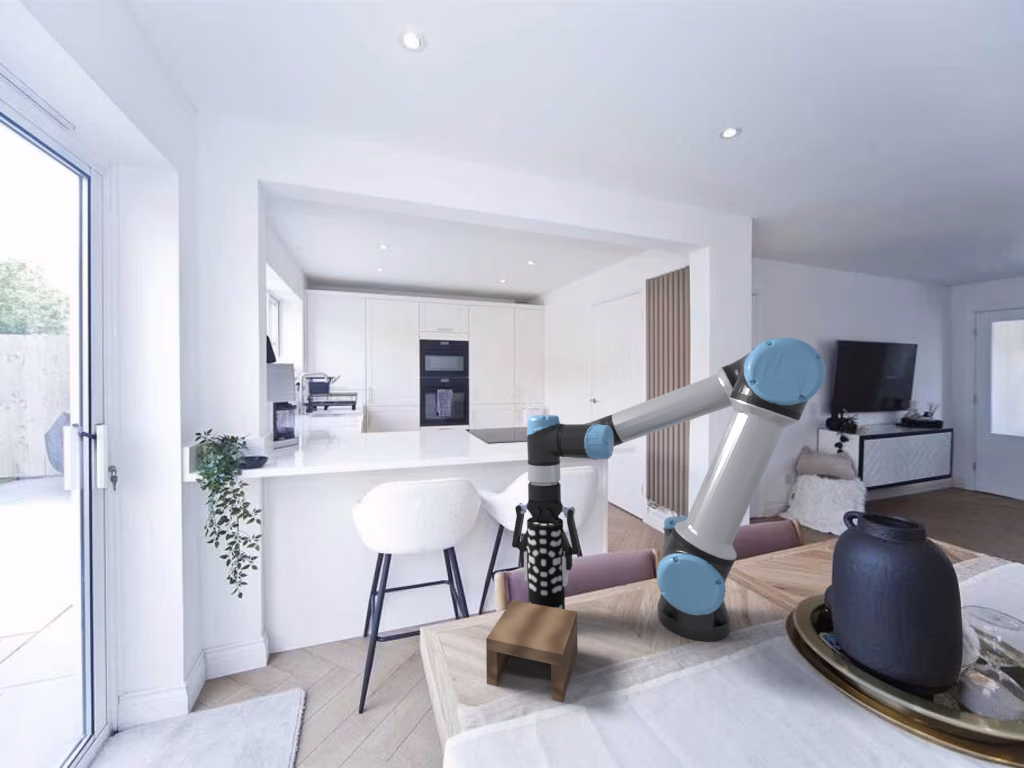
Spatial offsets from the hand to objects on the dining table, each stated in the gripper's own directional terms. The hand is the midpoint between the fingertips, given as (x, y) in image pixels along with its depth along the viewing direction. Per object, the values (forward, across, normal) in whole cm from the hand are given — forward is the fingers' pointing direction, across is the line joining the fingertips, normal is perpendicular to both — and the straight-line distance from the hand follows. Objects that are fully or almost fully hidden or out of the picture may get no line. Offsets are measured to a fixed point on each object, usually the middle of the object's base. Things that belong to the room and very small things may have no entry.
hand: (546, 580), depth 92 cm
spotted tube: (+7, 0, 0) cm, 7 cm away
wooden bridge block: (+9, -2, +16) cm, 18 cm away
